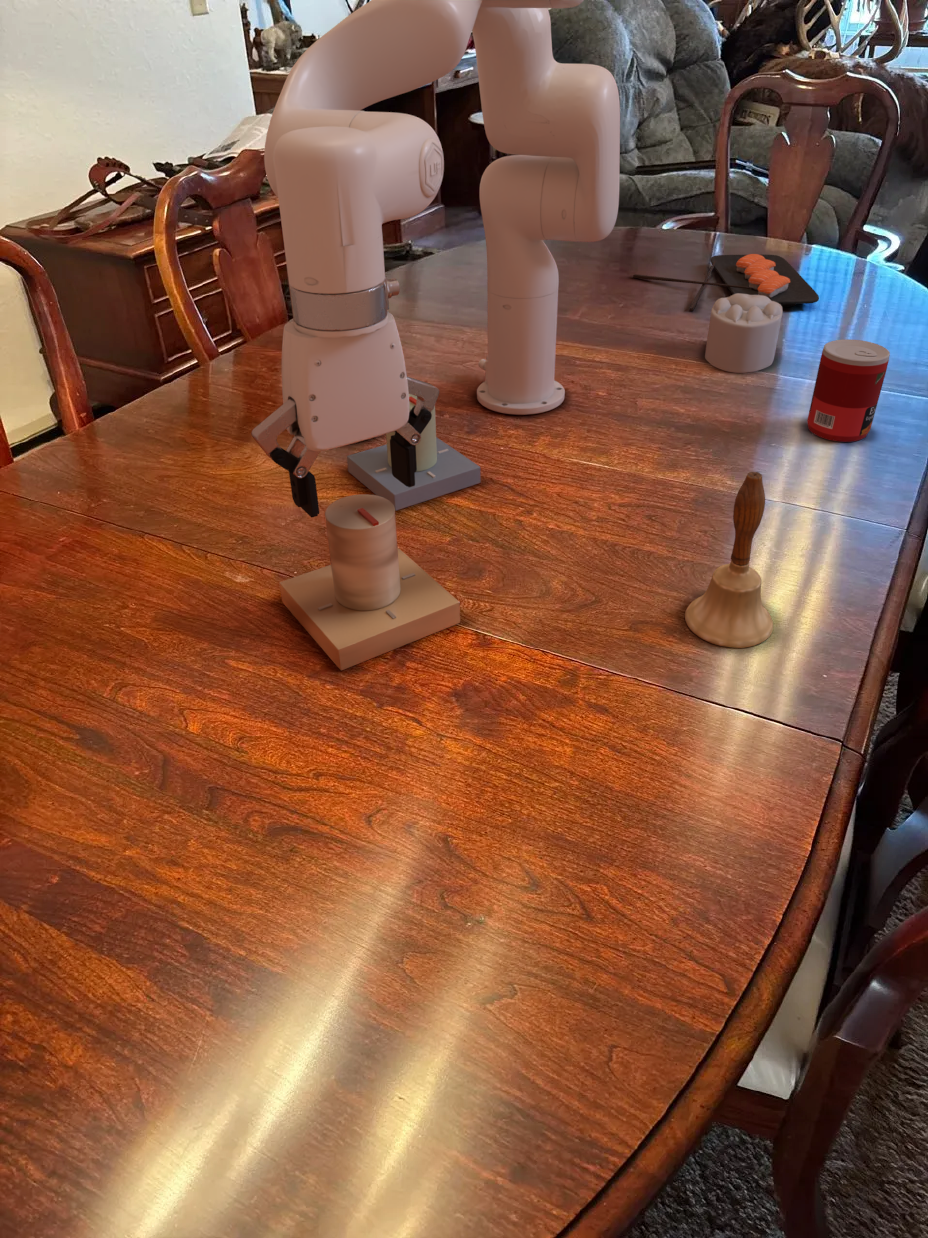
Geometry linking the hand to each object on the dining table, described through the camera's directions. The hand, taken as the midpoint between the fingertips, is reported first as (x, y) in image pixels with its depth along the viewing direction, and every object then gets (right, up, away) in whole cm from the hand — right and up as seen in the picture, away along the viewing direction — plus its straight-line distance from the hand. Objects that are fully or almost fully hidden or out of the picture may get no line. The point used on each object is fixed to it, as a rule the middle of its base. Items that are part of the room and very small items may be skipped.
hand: (357, 495), depth 83 cm
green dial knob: (+3, +8, +29) cm, 31 cm away
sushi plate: (+57, +51, +89) cm, 117 cm away
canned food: (+59, +14, +39) cm, 72 cm away
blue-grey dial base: (+3, +6, +31) cm, 32 cm away
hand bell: (+35, -12, +6) cm, 38 cm away
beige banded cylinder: (0, -8, +7) cm, 11 cm away
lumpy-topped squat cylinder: (+53, +30, +61) cm, 86 cm away
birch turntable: (0, -11, +8) cm, 13 cm away
